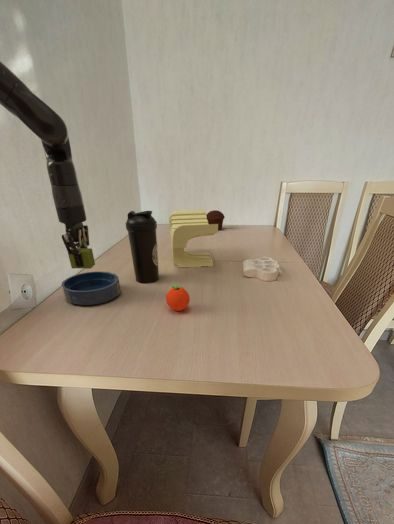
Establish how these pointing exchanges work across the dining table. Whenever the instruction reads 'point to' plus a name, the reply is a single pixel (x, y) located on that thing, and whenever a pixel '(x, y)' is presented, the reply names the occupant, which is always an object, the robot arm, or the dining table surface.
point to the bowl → (91, 288)
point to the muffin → (215, 218)
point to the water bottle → (143, 245)
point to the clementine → (177, 298)
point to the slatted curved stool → (189, 236)
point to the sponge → (84, 258)
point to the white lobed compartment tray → (262, 268)
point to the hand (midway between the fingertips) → (82, 263)
